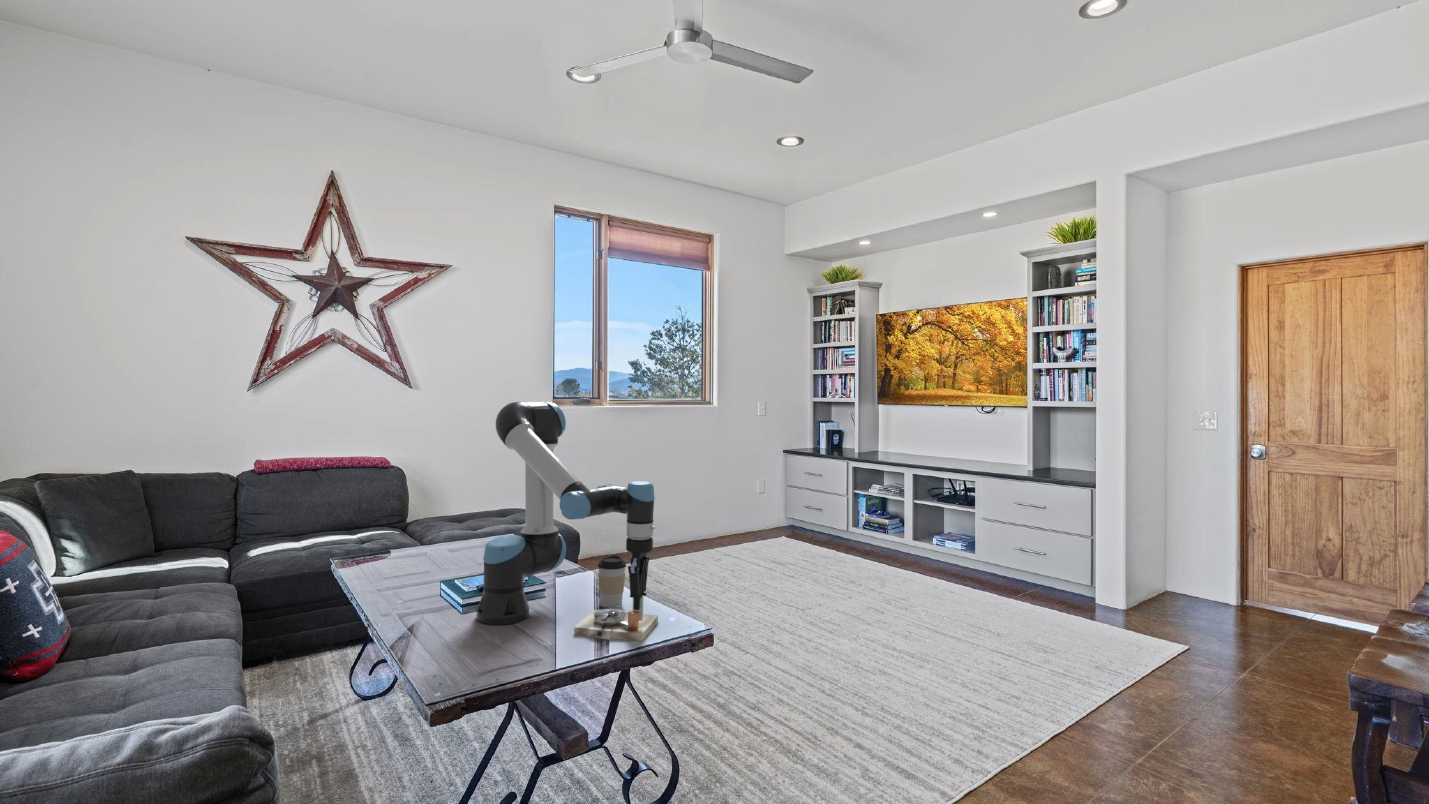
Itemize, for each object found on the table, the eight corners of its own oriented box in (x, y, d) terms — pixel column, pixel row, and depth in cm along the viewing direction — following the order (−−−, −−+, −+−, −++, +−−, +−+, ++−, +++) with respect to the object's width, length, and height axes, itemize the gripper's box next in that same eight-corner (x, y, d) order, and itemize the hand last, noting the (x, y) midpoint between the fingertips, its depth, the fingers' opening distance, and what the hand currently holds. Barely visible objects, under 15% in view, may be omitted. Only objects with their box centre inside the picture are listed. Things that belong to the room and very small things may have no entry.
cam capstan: (585, 621, 197) (585, 605, 197) (611, 613, 204) (611, 597, 204) (622, 635, 186) (622, 618, 186) (648, 626, 194) (648, 610, 194)
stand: (571, 636, 191) (571, 628, 191) (594, 615, 208) (594, 608, 208) (639, 643, 187) (640, 635, 187) (657, 622, 205) (657, 614, 205)
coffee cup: (619, 609, 215) (620, 562, 214) (592, 607, 216) (593, 560, 216) (628, 601, 223) (630, 555, 223) (602, 598, 225) (603, 553, 225)
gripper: (645, 542, 186) (643, 628, 186) (658, 532, 199) (656, 613, 199) (619, 540, 187) (617, 626, 188) (633, 531, 200) (631, 611, 201)
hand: (637, 619), depth 193 cm, fingers closed
